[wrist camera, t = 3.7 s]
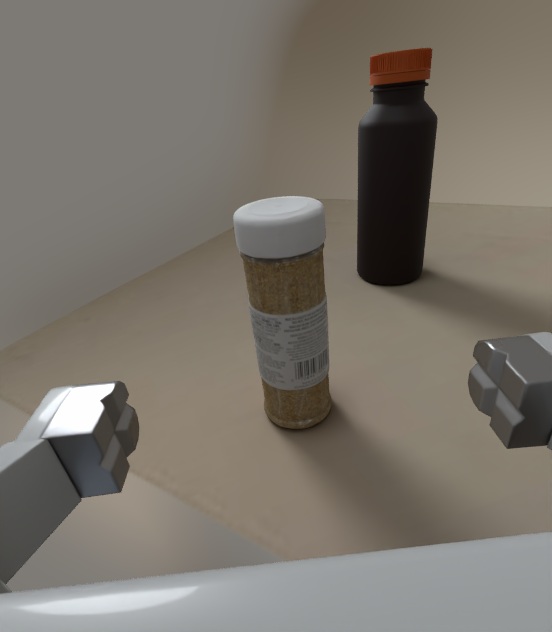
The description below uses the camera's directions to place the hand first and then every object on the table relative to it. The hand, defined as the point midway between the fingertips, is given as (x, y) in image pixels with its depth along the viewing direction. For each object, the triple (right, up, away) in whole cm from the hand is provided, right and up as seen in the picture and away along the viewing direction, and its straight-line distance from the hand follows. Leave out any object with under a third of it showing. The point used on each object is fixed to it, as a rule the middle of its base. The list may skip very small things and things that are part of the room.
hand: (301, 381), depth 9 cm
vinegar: (+12, +6, +33) cm, 36 cm away
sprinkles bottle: (+1, -5, +17) cm, 17 cm away
